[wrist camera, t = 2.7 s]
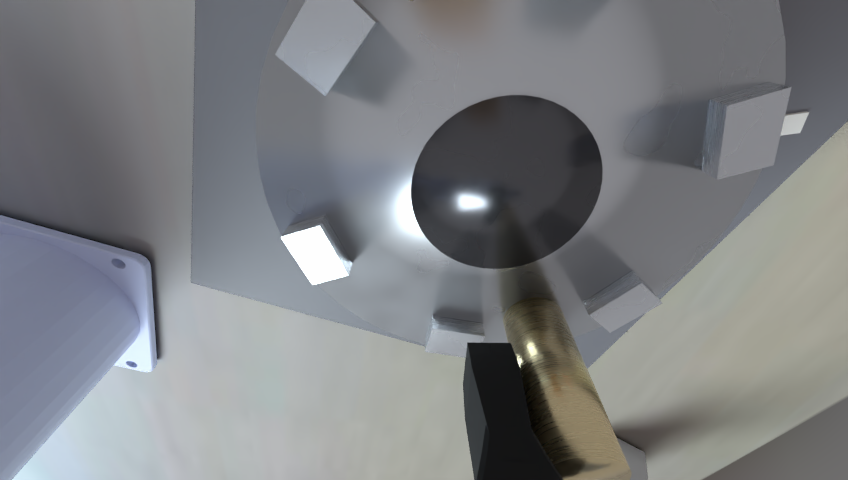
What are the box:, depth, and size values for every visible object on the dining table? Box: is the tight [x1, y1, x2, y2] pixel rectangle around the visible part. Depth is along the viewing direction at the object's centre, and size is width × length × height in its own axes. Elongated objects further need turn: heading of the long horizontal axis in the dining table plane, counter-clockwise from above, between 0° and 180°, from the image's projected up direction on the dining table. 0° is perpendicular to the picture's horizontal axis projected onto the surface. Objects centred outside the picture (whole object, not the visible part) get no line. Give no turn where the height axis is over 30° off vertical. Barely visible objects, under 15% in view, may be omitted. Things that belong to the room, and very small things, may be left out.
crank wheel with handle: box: [256, 0, 791, 480], centre depth 8 cm, size 13×13×7 cm
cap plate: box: [191, 0, 848, 368], centre depth 11 cm, size 18×18×1 cm
